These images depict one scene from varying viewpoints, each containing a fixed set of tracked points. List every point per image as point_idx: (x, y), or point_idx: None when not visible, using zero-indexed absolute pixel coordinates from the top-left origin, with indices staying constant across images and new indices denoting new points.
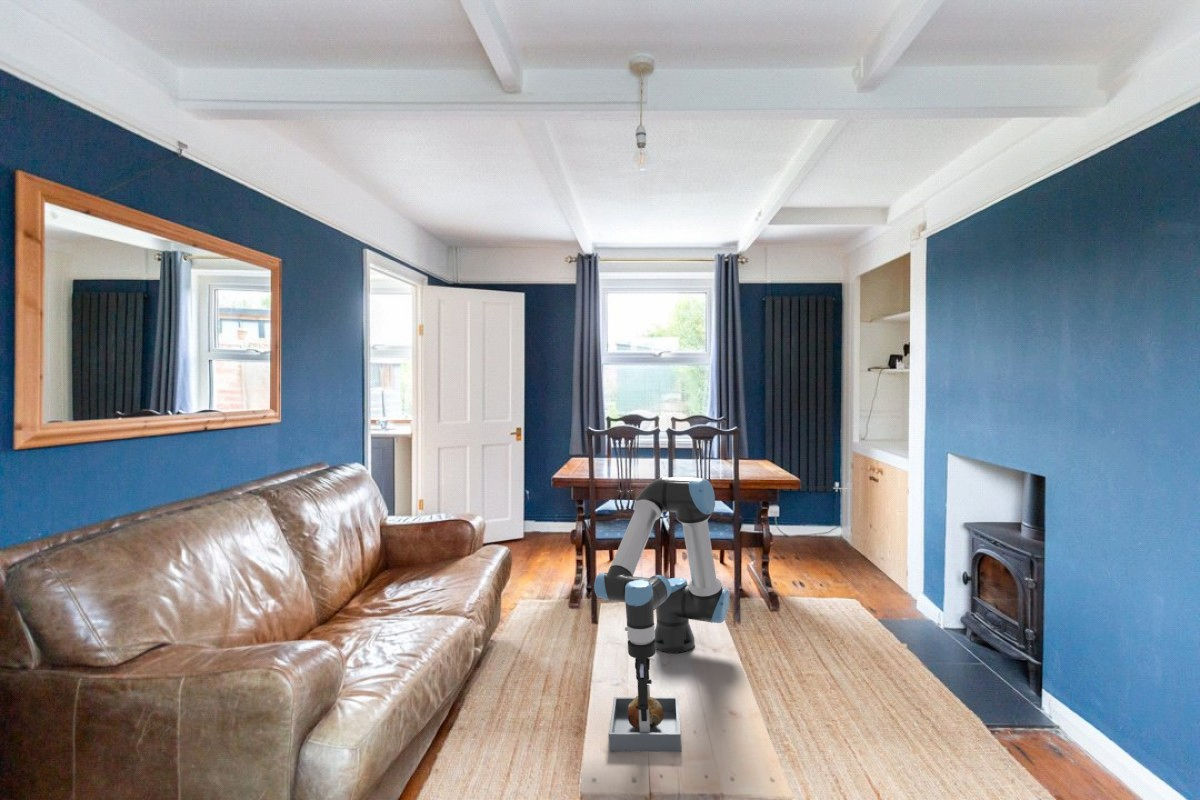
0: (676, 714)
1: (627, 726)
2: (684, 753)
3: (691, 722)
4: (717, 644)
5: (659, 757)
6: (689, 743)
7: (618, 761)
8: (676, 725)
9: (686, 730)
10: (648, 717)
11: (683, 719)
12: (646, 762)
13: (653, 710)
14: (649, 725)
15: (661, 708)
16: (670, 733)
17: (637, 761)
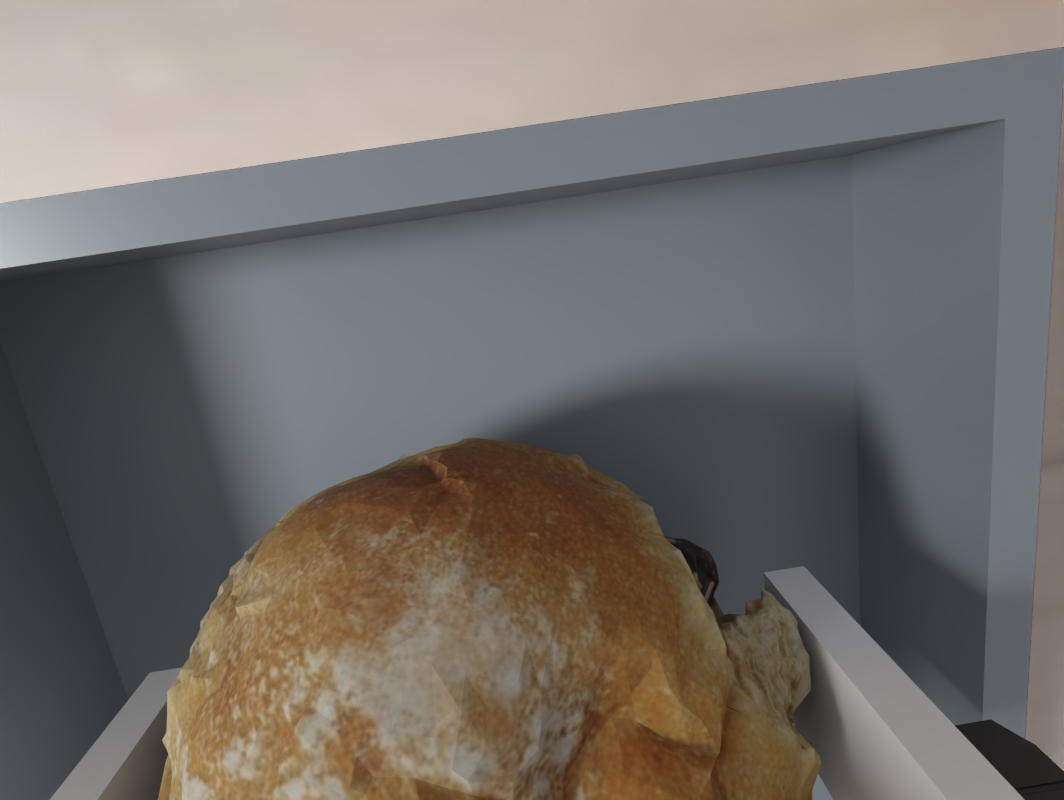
0: (385, 207)
1: None
2: (903, 66)
3: (160, 26)
4: None
5: None
6: (686, 14)
7: (1030, 728)
8: (341, 236)
9: (385, 87)
10: (951, 730)
11: (114, 160)
12: (1057, 481)
13: (664, 686)
14: (851, 621)
15: (464, 533)
16: (1023, 245)
17: (1037, 568)
